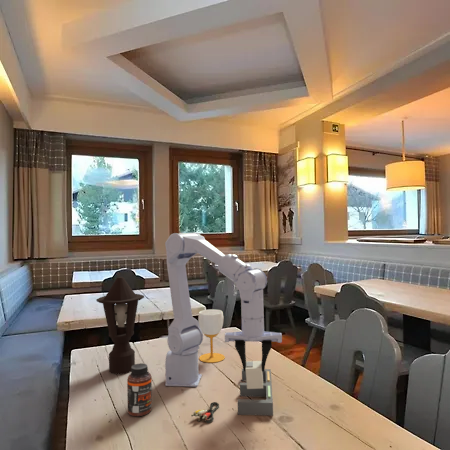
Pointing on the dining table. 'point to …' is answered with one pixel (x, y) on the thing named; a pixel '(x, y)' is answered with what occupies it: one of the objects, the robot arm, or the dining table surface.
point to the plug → (254, 374)
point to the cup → (211, 332)
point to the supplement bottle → (139, 390)
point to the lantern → (120, 324)
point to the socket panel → (256, 405)
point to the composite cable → (206, 413)
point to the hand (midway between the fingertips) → (253, 369)
